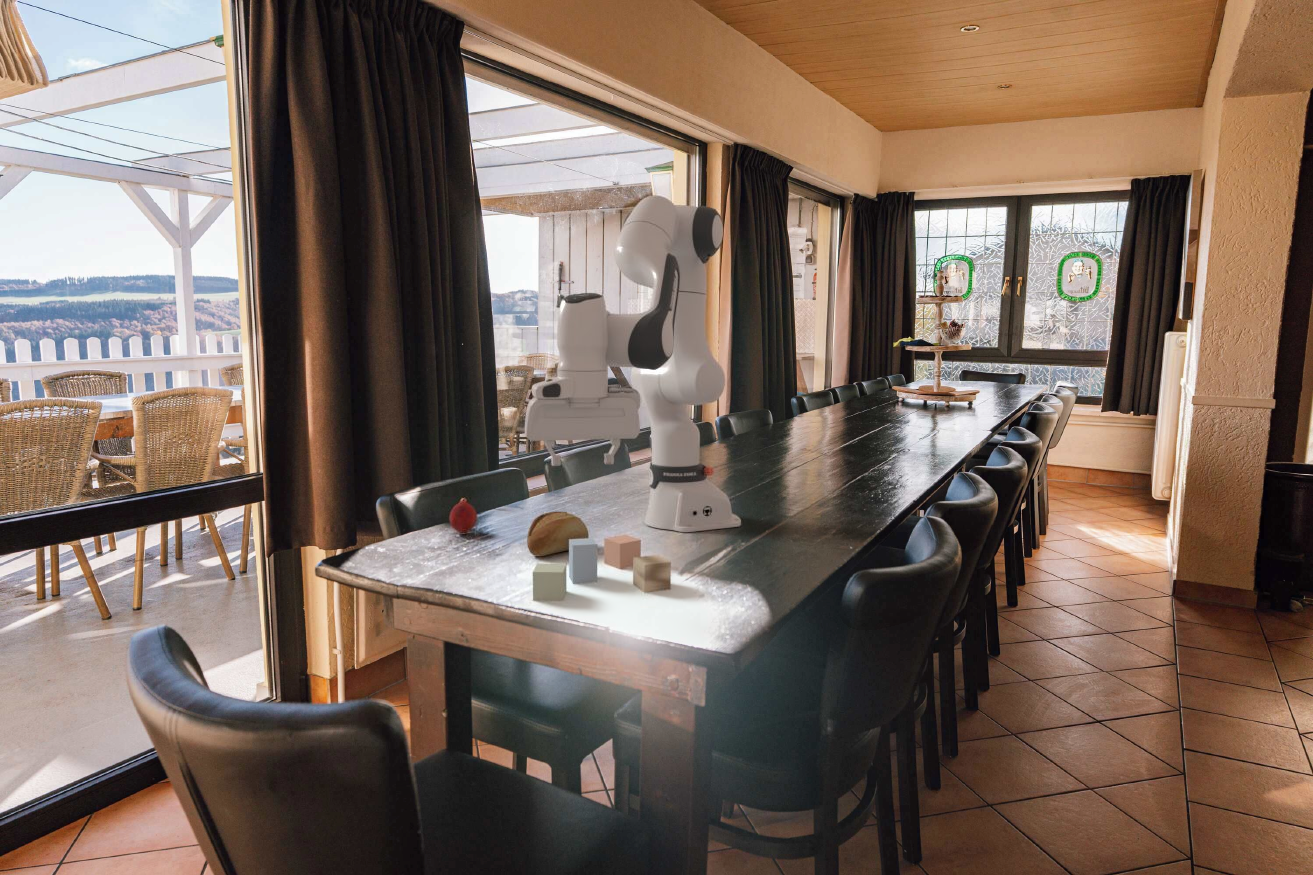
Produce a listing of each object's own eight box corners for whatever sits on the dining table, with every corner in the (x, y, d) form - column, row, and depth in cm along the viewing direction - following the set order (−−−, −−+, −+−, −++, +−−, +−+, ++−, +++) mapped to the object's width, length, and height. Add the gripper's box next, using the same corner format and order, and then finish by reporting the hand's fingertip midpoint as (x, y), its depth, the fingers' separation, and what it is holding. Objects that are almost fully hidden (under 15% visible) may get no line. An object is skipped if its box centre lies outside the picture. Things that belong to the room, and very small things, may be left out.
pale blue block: (592, 575, 152) (592, 537, 151) (597, 582, 148) (597, 544, 147) (569, 576, 151) (568, 539, 150) (572, 583, 147) (572, 545, 146)
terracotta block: (624, 559, 163) (625, 534, 162) (640, 565, 159) (640, 539, 159) (604, 563, 160) (604, 538, 159) (619, 569, 156) (619, 543, 155)
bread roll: (513, 555, 165) (513, 516, 164) (564, 540, 177) (564, 503, 176) (548, 563, 159) (548, 523, 158) (599, 547, 171) (599, 510, 170)
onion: (470, 538, 178) (469, 501, 177) (445, 536, 179) (444, 500, 178) (481, 531, 183) (480, 496, 182) (457, 530, 184) (456, 495, 183)
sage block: (566, 591, 143) (566, 563, 142) (563, 601, 138) (562, 572, 137) (537, 591, 143) (537, 563, 142) (533, 601, 138) (532, 571, 137)
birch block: (658, 581, 149) (658, 554, 148) (670, 589, 144) (670, 561, 144) (633, 584, 147) (633, 557, 146) (644, 593, 142) (644, 564, 142)
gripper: (636, 385, 151) (635, 460, 153) (523, 385, 146) (523, 463, 147) (644, 387, 145) (643, 465, 146) (526, 388, 140) (527, 469, 141)
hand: (582, 464), depth 147 cm, fingers open, 8 cm apart
